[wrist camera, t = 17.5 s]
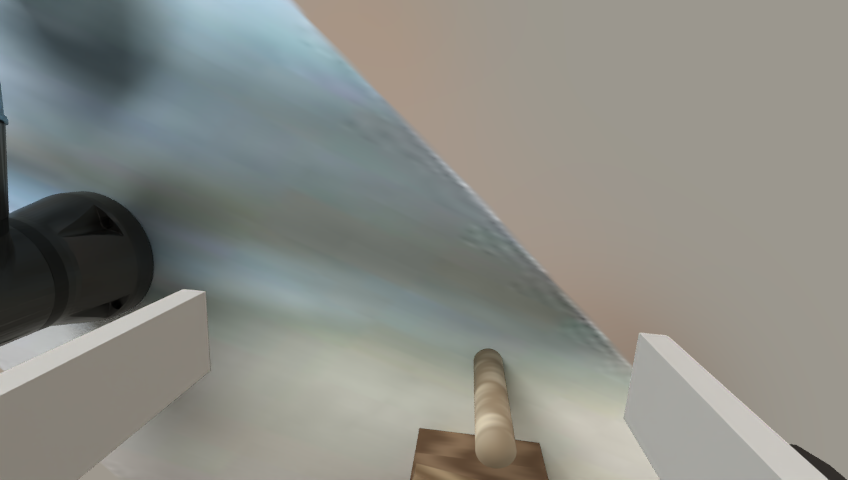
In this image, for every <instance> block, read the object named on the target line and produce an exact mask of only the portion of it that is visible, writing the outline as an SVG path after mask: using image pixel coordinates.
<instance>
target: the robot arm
mask: <svg viewBox="0 0 848 480" xmlns="http://www.w3.org/2000/svg"><path fill="white" fill-rule="evenodd" d="M6 125H8V119H7V117H6V116H5V115H4V110H3V101H2V92H1V83H0V346H2V345H5V344H7V343H10V342H12V341H14V340H17V339H19V338H22V337H24V336H27V335H29V334H32V333H34V332H36V331H39V330H41V329H44V328H46V327H49V326H56V325H66V324H75V323H85V322H95V321H101V320H105V319H109V318H112V317H114V316H116V315H119V314H121V313H123V312H125V311H127V310H129V309H131V308H133V307H134V306H136V305H137V304H138V303H139V302H140V301H141V300H142V299H143V297H144V296H145V294H146V293H147V291H148V289H149V287H150V284H151V280H152V276H153V256H152V251H151V247H150V244H149V241H148V239H147V236H146V234H145V232H144V231H143V229H142V227H141V226H140V224H139V223H138V221H137V220H136V219H135V218H134V216H133V215H132V214H131V213H130V212H129V211H128V210H127V209H125V208H124V207H123V206H122V205H120V204H119V203H117V202H116V201H114V200H112V199H110V198H108V197H106V196H104V195H101V194H97V193H93V192H69V193H60V194H55V195H51V196H48V197H45V198H43V199H40V200H38V201H36V202H34V203H32V204H29V205H27V206H25V207H23V208H20V209H18V210H16V211H14V212H12V213H9V206H8V179H7V151H6ZM209 371H211V370H210V354H209V337H208V321H207V305H206V291H198V290H187V289H182V290H180V291H178V292H176V293H174V294H171V295H169V296H167V297H165V298H163V299H160V300H158V301H156V302H154V303H152V304H150V305H147V306H145V307H143V308H141V309H139V310H137V311H134V312H132V313H130V314H128V315H126V316H124V317H121V318H119V319H117V320H115V321H113V322H111V323H108V324H106V325H104V326H102V327H100V328H97V329H95V330H93V331H91V332H89V333H87V334H84V335H82V336H80V337H78V338H76V339H74V340H71V341H69V342H67V343H65V344H63V345H61V346H58V347H56V348H54V349H52V350H50V351H47V352H45V353H43V354H41V355H39V356H37V357H34V358H32V359H30V360H28V361H26V362H24V363H21V364H19V365H17V366H15V367H13V368H11V369H8V370H6V371H4V372H2V373H0V480H78V479H79V478H80V477H82V476H83V475H84V474H85V473H87V472H88V471H89V470H90V469H92V468H93V467H94V466H95V465H96V464H97V463H99V462H100V461H101V460H103V459H104V458H105V457H106V456H107V455H109V454H110V453H111V452H112V451H113V450H115V449H116V448H117V447H118V446H119V445H121V444H122V443H123V442H124V441H126V440H127V439H128V438H129V437H130V436H132V435H133V434H134V433H135V432H136V431H138V430H139V429H140V428H141V427H143V426H144V425H145V424H146V423H147V422H149V421H150V420H151V419H152V418H153V417H155V416H156V415H157V414H158V413H160V412H161V411H162V410H163V409H164V408H166V407H167V406H168V405H169V404H170V403H172V402H173V401H174V400H175V399H177V398H178V397H179V396H180V395H181V394H183V393H184V392H185V391H186V390H187V389H189V388H190V387H191V386H192V385H194V384H195V383H196V382H197V381H198V380H200V379H201V378H202V377H203V376H204V375H206V374H207V373H208V372H209ZM624 420H625V421H626V423H627V425H628V427H629V428H630V430H631V432H632V433H633V435H634V437H635V438H636V440H637V442H638V443H639V445H640V447H641V448H642V450H643V452H644V453H645V455H646V457H647V459H648V460H649V462H650V464H651V465H652V467H653V469H654V470H655V472H656V474H657V475H658V477H659V479H660V480H847V479H845V478H844V477H843V476H842V475H841V474H839V473H838V472H837V471H836V470H835V469H834V468H832V467H831V466H830V465H828V464H827V463H825V462H823V461H822V460H820V459H819V458H817V457H815V456H814V455H812V454H810V453H809V452H807V451H805V450H804V449H802V448H801V447H799V446H797V445H792V444H788V443H787V442H786V441H784V439H782V438H781V437H780V436H779V435H778V434H777V433H776V432H775V431H774V430H772V429H771V428H770V427H769V426H768V425H767V424H766V423H765V422H764V421H762V420H761V419H760V418H759V417H758V416H757V415H756V414H755V413H753V412H752V411H751V410H750V409H749V408H748V407H747V406H746V405H745V404H743V403H742V402H741V401H740V400H739V399H738V398H737V397H736V396H735V395H733V394H732V393H731V392H730V391H729V390H728V389H726V388H725V387H724V386H723V385H722V384H721V383H720V382H719V381H718V380H717V379H716V378H714V377H713V376H712V375H711V374H710V373H709V372H708V371H707V370H705V369H704V368H703V367H702V366H701V365H700V364H699V363H698V362H697V361H695V360H694V359H693V358H692V357H691V356H690V355H689V354H688V353H686V352H685V351H684V350H683V349H682V348H681V347H680V346H679V345H678V344H676V343H675V342H674V341H673V340H672V339H671V338H670V337H669V336H667V335H658V334H648V333H639V336H638V342H637V348H636V353H635V358H634V364H633V369H632V375H631V380H630V386H629V391H628V397H627V402H626V408H625V413H624Z"/></svg>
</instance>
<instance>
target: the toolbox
mask: <svg viewBox="0 0 848 480" xmlns="http://www.w3.org/2000/svg"><path fill="white" fill-rule="evenodd" d="M515 444H516V450H517V453H516V457H515V459H514V461H513V462H512V463H511V464H510V465H508V466H507V467H504V468H499V469H495V468H490V467H487V466H485V465H484V464H482V463H481V462H480V461H479V459H478V458H477V456H476V452H475V435H470V434H462V433H454V432H446V431H438V430H430V429H422V428H419V434H418V439H417V445H416V450H415V456H414V461H413V467H412V472H411V478H410V480H412V479H413V475H414V470H415V466H416V463H417V464H421V465H425V466H429V467H433V468H436V469H440V470H444V471H448V472H452V473H455V474H459V475H463V476H467V477H471V478H474V479H478V480H548V476H547V472H546V468H545V464H544V460H543V456H542V452H541V448H540V444H539V443H535V442H527V441H519V440H515Z"/></svg>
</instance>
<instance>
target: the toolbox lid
mask: <svg viewBox="0 0 848 480" xmlns="http://www.w3.org/2000/svg"><path fill="white" fill-rule="evenodd" d="M412 480H478V479H474V478H471V477H467V476H463V475H459V474H455V473H452V472H448V471H444V470H440V469H436V468H433V467H429V466H425V465H421V464H417V463H416V466H415V470H414V475H413V479H412Z"/></svg>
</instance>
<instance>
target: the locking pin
mask: <svg viewBox="0 0 848 480" xmlns="http://www.w3.org/2000/svg"><path fill="white" fill-rule="evenodd" d="M474 406H475V452H476V456H477V458H478V459H479V461H480V462H481V463H482V464H484V465H485V466H487V467H490V468H495V469H499V468H504V467H507V466H508V465H510V464H511V463H512V462H513V461H514V459H515V457H516V453H517V450H516V444H515V437H514V431H513V425H512V418H511V412H510V406H509V399H508V393H507V387H506V380H505V374H504V368H503V361H502V357H501V356H500V354H499V353H498V352H497V351H495V350H493V349H483V350H481V351H479V352H478V353H477V354H476V355H475V357H474Z"/></svg>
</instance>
